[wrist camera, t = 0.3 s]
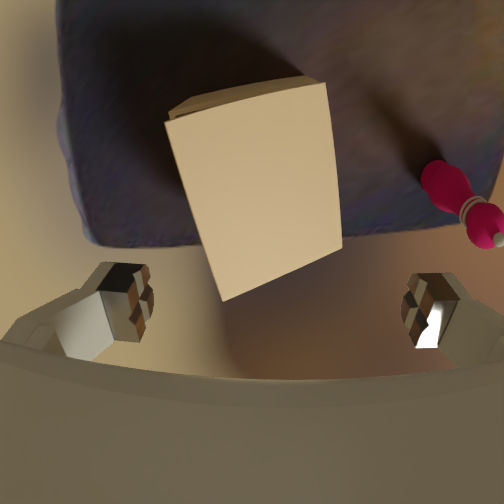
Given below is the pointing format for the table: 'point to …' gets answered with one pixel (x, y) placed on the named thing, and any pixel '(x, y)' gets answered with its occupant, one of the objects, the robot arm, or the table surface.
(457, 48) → the table surface
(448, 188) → the pepper mill
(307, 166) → the carton lid
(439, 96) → the table surface
